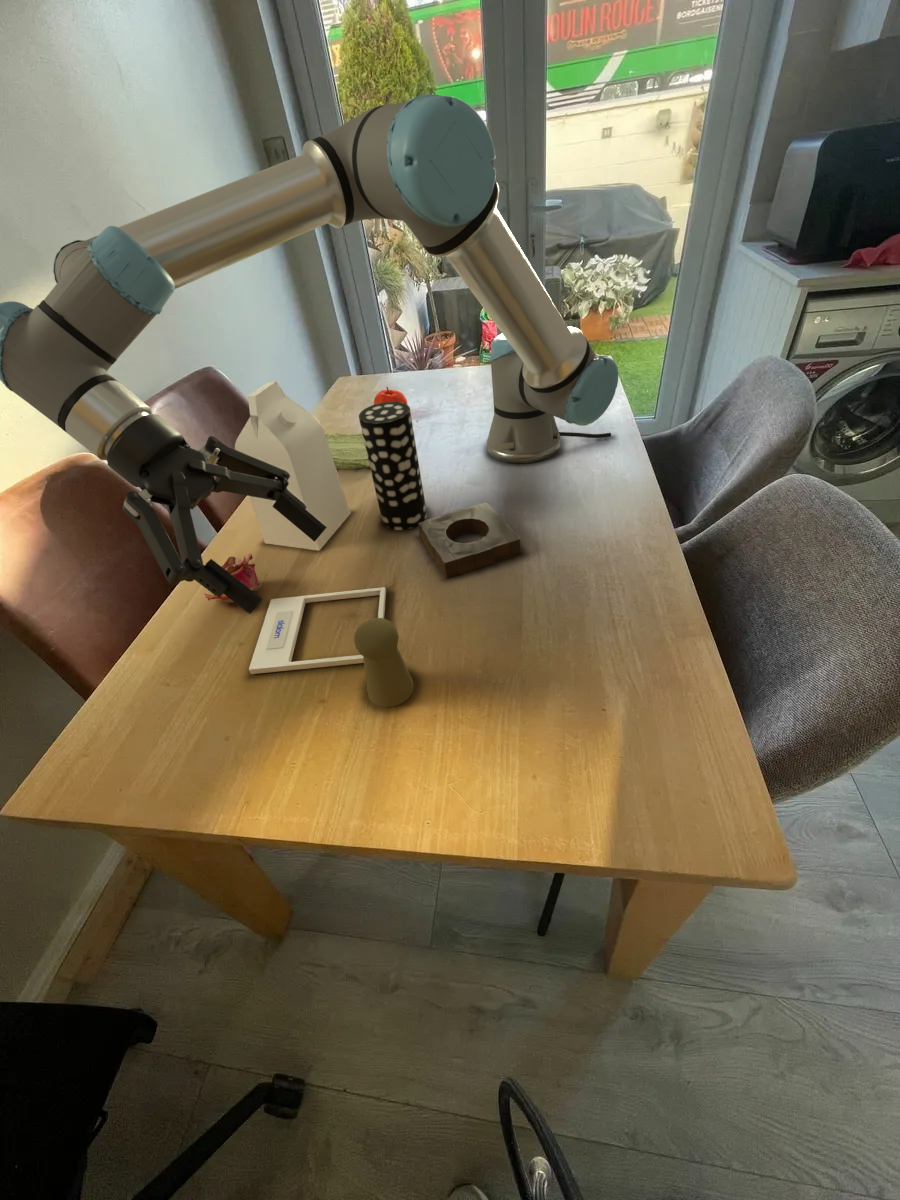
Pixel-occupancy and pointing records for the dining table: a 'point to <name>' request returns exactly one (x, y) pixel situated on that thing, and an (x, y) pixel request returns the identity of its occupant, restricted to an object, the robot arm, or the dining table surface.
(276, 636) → the photo frame
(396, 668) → the wooden peg doll
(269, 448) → the milk
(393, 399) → the apple
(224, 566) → the flower
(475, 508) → the ring plate
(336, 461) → the washcloth
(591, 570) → the dining table surface
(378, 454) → the spotted tube
